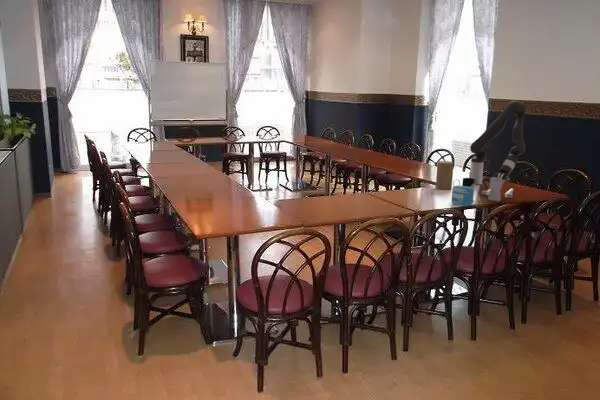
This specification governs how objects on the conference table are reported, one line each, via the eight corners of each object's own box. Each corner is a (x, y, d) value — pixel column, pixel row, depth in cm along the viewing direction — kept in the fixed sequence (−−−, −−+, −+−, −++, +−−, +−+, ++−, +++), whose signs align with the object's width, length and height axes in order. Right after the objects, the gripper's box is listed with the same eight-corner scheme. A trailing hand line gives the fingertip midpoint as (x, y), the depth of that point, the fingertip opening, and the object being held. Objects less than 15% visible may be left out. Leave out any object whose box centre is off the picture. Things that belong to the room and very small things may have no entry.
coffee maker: (504, 199, 334) (507, 173, 330) (503, 202, 326) (506, 175, 322) (481, 197, 340) (483, 171, 336) (480, 199, 332) (482, 173, 328)
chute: (481, 194, 349) (481, 191, 349) (488, 189, 367) (488, 186, 367) (511, 198, 339) (511, 194, 338) (517, 192, 357) (517, 189, 356)
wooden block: (448, 187, 374) (451, 161, 369) (451, 190, 364) (453, 163, 360) (435, 187, 375) (437, 161, 370) (437, 189, 365) (439, 162, 361)
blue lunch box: (472, 202, 323) (474, 180, 320) (450, 200, 330) (452, 178, 327) (475, 200, 330) (477, 178, 327) (453, 197, 337) (455, 176, 334)
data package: (451, 204, 320) (452, 185, 317) (454, 202, 323) (455, 184, 320) (468, 207, 312) (470, 188, 309) (471, 205, 315) (473, 187, 312)
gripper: (496, 163, 348) (484, 181, 343) (514, 165, 337) (502, 185, 333) (500, 169, 352) (488, 188, 348) (517, 172, 342) (505, 191, 337)
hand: (495, 186), depth 340 cm, fingers closed
